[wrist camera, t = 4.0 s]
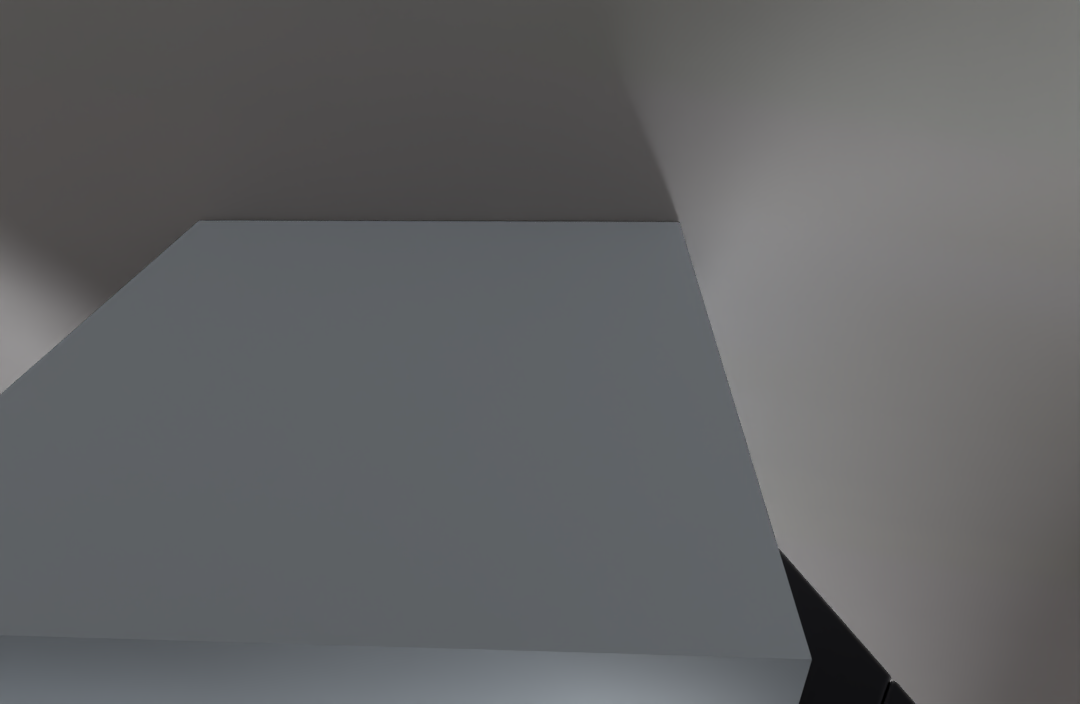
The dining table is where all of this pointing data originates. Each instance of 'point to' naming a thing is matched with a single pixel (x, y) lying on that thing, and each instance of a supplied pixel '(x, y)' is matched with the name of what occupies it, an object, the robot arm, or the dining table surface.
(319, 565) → the grey cube
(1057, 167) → the dining table surface
